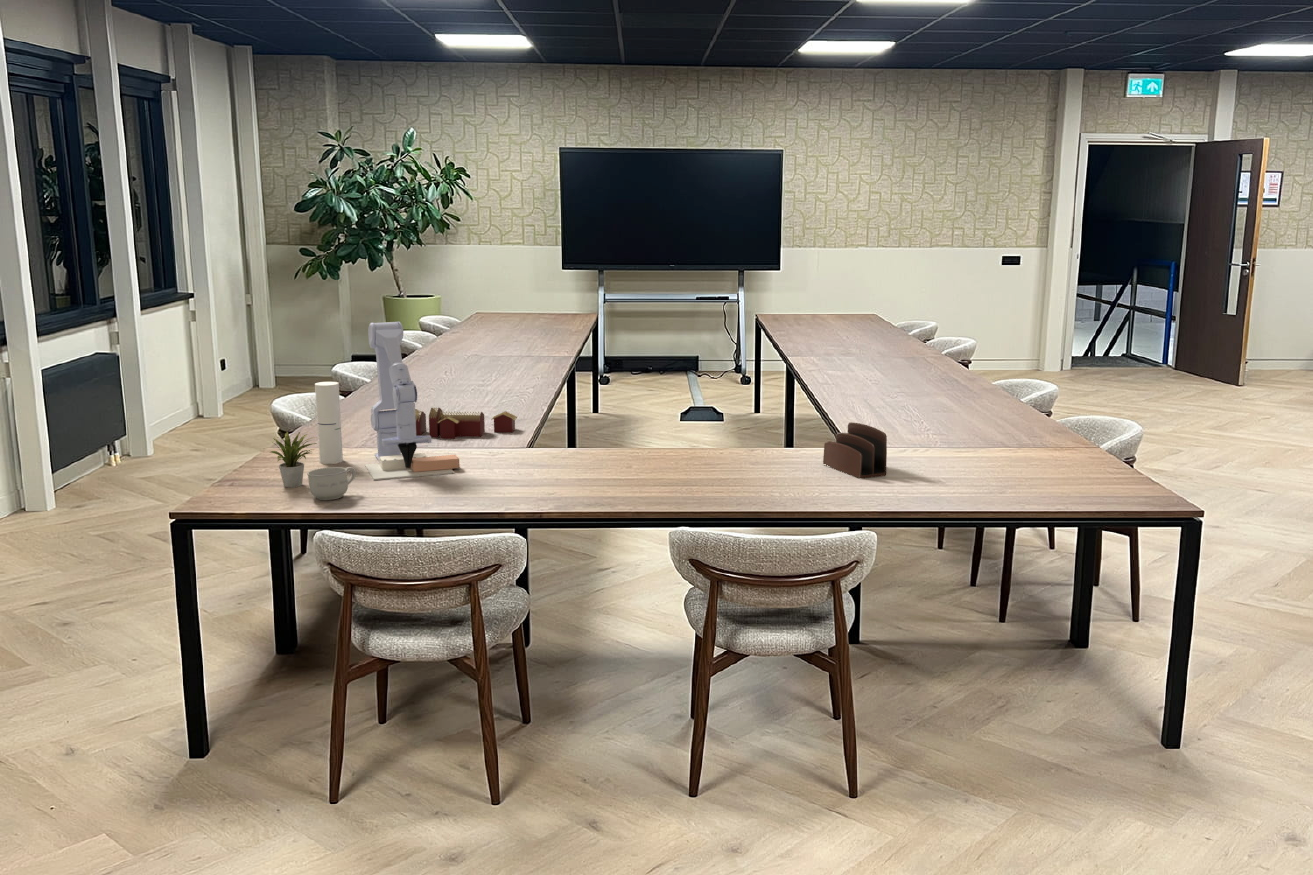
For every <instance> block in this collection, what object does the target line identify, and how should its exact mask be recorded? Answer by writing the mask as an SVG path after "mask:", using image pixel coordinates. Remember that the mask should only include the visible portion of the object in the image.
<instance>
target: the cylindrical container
mask: <svg viewBox="0 0 1313 875" xmlns="http://www.w3.org/2000/svg"><path fill="white" fill-rule="evenodd" d="M339 383H340V382H337V381H320V382H316V383H314V391H315V392H314V393H315V408H316V423H317V438H318V439H317V440H318V442H317V444H318V454H319V455H318V456H319V460H318V461H319V464H322V465H323V464H324V465H331V464H333V465H334V464H339V462H340V463H342V462H343V461H344V456H343V455H344V454H343V440H342V439H343V437H342V420H341V402H340V401H341V400H340V384H339Z"/></svg>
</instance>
